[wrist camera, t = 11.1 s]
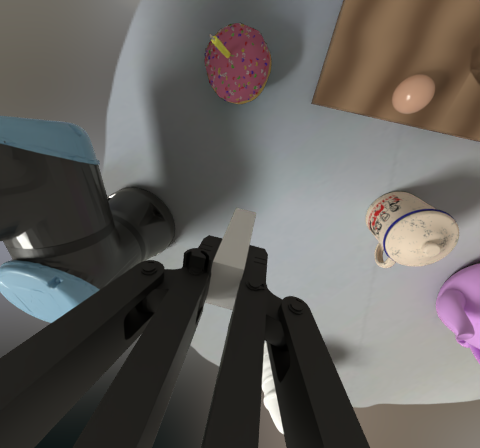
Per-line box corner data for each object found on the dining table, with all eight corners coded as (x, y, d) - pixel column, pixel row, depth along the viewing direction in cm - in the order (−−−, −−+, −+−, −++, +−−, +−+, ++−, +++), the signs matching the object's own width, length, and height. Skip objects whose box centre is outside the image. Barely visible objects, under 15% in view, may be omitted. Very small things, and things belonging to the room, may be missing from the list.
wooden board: (311, 103, 33) (313, 102, 31) (375, -104, 24) (385, -126, 22) (501, 146, 32) (518, 149, 30) (647, -54, 23) (687, -72, 21)
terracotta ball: (380, 110, 30) (394, 109, 26) (396, 73, 28) (414, 67, 25) (411, 116, 30) (429, 117, 26) (429, 80, 28) (452, 76, 24)
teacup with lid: (382, 181, 37) (423, 208, 26) (434, 200, 37) (496, 234, 26) (345, 240, 42) (367, 281, 32) (390, 255, 42) (426, 301, 32)
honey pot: (319, 354, 58) (334, 446, 42) (288, 375, 63) (292, 463, 48) (278, 331, 56) (278, 418, 40) (250, 354, 62) (241, 438, 46)
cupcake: (203, 75, 34) (169, 58, 23) (239, 18, 30) (219, -33, 20) (245, 117, 35) (231, 118, 25) (284, 67, 32) (287, 45, 21)
